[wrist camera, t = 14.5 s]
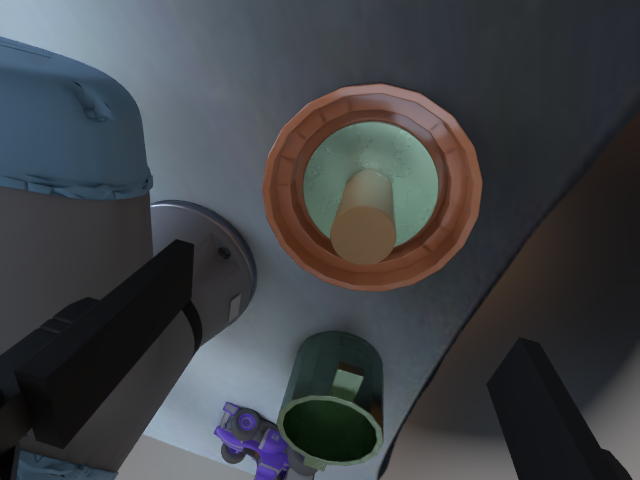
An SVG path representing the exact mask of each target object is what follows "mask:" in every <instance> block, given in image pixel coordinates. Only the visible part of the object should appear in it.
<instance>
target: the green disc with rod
mask: <svg viewBox="0 0 640 480" xmlns="http://www.w3.org/2000/svg"><path fill="white" fill-rule="evenodd" d="M438 194H439V178H438V173H437V168H436V166H435V163H434V160H433V158H432V157H431V155H430V153H429V151H428V150H427V148H426V147H425V146H424V145H423V143H422V142H421V141H420V140H419V139H418V138H417V137H416V136H414V135H413V134H411V133H410V132H409V131H407V130H405V129H403V128H401V127H399V126H396V125H394V124H391V123H386V122H381V121H363V122H358V123H353V124H350V125H347V126H344V127H342V128H340V129H338V130H336V131H335V132H333V133H332V134H331V135H329V136H328V137H327V138H326V139H324V140H323V141H322V142H321V143H320V145H319V146H318V147H317V148H316V149H315V151H314V152H313V154H312V155H311V157H310V159H309V161H308V163H307V166H306V169H305V172H304V178H303V198H304V202H305V206H306V209H307V211H308V214H309V216H310V218H311V219H312V221H313V222H314V224H315V225H316V227H317V228H318V229H319V230H320V231H321V232H322V233H323V234H324V235H325V236H326V237H328V238H329V239H330V240H331V243H332V246H333V248H334V250H335V251H336V252H337V254H338V255H339V256H340V257H342V258H343V259H344V260H346V261H348V262H350V263H353V264H357V265H371V264H375V263H378V262H380V261H382V260H383V259H385V258H386V257H387V256H388V255H389V254H390V253H391V252H392V250H393V248H394V247H397V246H399V245H401V244H403V243H405V242H407V241H408V240H410V239H411V238H413V237H414V236H415V235H416V234H418V233H419V232H420V231H421V230H422V228H423V227H424V226H425V225H426V223H427V222H428V221H429V219H430V217H431V216H432V214H433V212H434V209H435V206H436V204H437V199H438Z"/></svg>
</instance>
